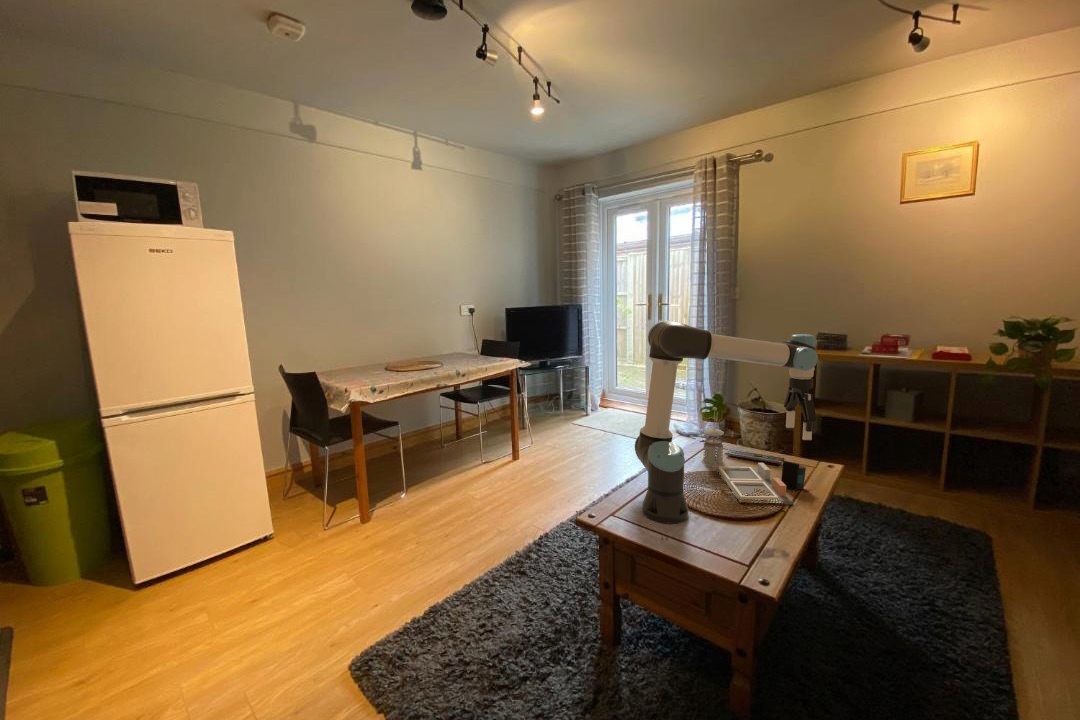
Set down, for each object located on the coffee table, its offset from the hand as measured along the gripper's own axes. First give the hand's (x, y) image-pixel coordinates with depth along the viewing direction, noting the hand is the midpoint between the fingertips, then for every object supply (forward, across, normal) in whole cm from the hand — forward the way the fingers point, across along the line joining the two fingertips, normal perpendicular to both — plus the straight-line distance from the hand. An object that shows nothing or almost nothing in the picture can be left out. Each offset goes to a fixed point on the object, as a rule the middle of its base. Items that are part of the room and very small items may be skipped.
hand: (798, 433), depth 160 cm
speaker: (+22, +1, 0) cm, 22 cm away
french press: (+21, +22, +24) cm, 39 cm away
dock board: (+21, +1, +16) cm, 26 cm away
